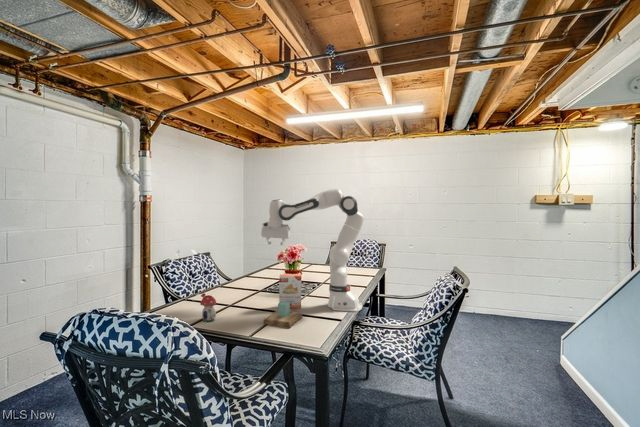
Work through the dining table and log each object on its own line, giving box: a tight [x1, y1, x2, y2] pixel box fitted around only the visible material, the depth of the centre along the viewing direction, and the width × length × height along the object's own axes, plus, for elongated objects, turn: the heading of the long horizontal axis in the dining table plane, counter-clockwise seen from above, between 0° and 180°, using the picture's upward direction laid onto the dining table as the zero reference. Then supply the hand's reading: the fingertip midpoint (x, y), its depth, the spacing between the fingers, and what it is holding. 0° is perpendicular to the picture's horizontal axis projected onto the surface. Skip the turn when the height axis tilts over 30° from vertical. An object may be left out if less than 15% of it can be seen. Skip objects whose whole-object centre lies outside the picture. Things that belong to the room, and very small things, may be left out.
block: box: [277, 301, 291, 317], centre depth 171 cm, size 5×5×7 cm
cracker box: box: [278, 273, 302, 309], centre depth 192 cm, size 14×6×21 cm, turn 95°
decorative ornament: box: [199, 293, 217, 323], centre depth 171 cm, size 9×6×15 cm
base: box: [263, 309, 303, 329], centre depth 171 cm, size 16×16×3 cm
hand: (275, 244), depth 200 cm, fingers open, 8 cm apart
